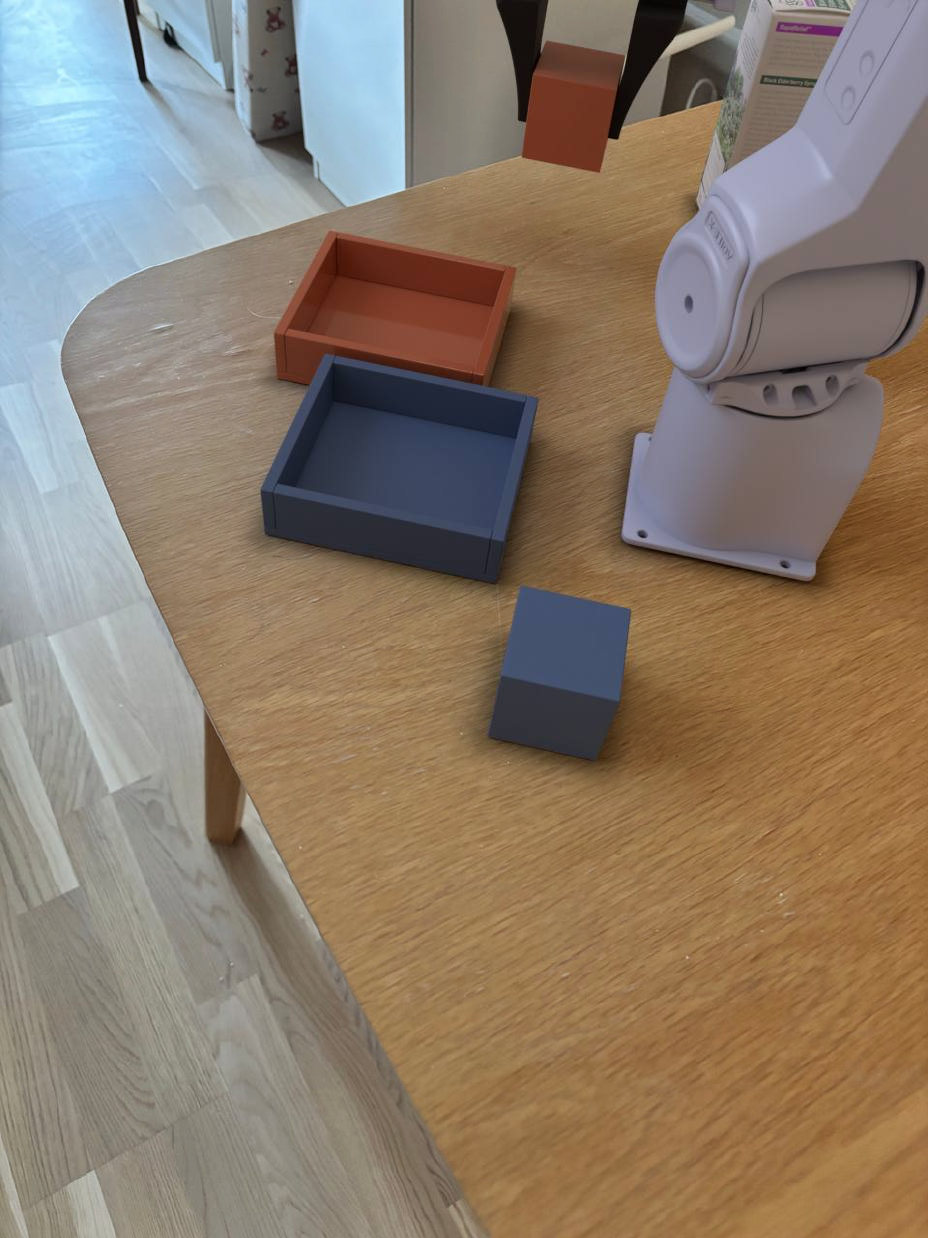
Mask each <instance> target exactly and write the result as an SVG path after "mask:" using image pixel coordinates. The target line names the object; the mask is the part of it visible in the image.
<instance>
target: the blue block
mask: <svg viewBox="0 0 928 1238" xmlns="http://www.w3.org/2000/svg"><path fill="white" fill-rule="evenodd" d="M517 593H518V594H517V597H516V602H515V607H514V612H513V615H512V621H511V624H510V625H511V626H510V630H509V634H508V639H507V643H506V648H505V653H504V657H503V662H502V666H501V672H500V676H499V680H498V685H497V690H496V695H495V699H494V703H493V708H492V713H491V717H490V722H489V726H488V731H487V737H488V738H492V739H496V740H501V741H504V742H509V743H513V744H519V745H522V746H527V747H532V748H536V749H540V750H545V751H549V752H554V753H558V754H563V755H568V756H573V757H576V758H581V759H586V760H590V761H597V760H598V757H599V755H600V753H601V750H602V747H603V746H604V743H605V740H606V738H607V735H608V733H609V730H610V727H611V725H612V723H613V720H614V717H615V715H616V713H617V710H618V708H619V705H620V703H621V700H622V689H623V683H624V675H625V667H626V665H625V664H626V659H627V658H626V657H627V649H628V641H629V634H630V625H631V616H632V609H631V608H629V607H624V606H619V605H615V604H610V603H604V602H600V601H596V600H591V599H586V598H582V597H578V596H573V595H567V594H565V593H560V592H554V591H550V590H545V589H540V588H535V587H531V586H527V585H520V586H519V588H518V592H517Z"/></svg>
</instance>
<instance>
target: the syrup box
mask: <svg viewBox="0 0 928 1238" xmlns="http://www.w3.org/2000/svg"><path fill="white" fill-rule="evenodd" d="M856 2H857V0H750V3H749V6H748V10H747V13H746V17H745V20H744V24H743V27H742V31H741V34H740V38H739V42H738V44H737V49H736V51H735V56H734V59H733V63H732V67H731V70H730V74H729V78H728V81H727V85H726V88H725V92H724V95H723V99H722V102H721V106H720V109H719V113H718V117H717V120H716V123H715V127H714V129H713V134H712V138H711V141H710V145H709V149H708V151H707V152H708V153H707V155H706V159H705V163H704V166H703V170H702V173H701V177H700V180H699V185H698V187H697V191H696V194H695V198H694V200H695V204H696V209H697V212H698V211H699V210H700V208H701V207H702V205H703V203H704V201H705V199H706V197H707V194H708V192H709V190H710V187H711V185H712V183H713V181H714V180H715V179H716V178H717V177H719V176H720V175H721V174H723V173H724V172H726V171H727V170H729V169H730V168H732V167H733V166H735V165H736V164H738V163H739V162H741V161H742V160H744V159H746V158H747V157H749V156H751V155H752V154H754V153H755V152H757V151H759V150H760V149H762V148H763V147H765V146H767V145H768V144H770V143H771V142H773V141H775V140H776V139H778V138H779V137H781V136H782V135H783V134H785V133H786V132H788V131H789V130H790V129H792V128H793V127H794V126H795V124H796V122H797V120H798V118H799V116H800V114H801V112H802V110H803V108H804V106H805V104H806V102H807V100H808V98H809V96H810V94H811V92H812V90H813V88H814V86H815V84H816V82H817V80H818V78H819V76H820V74H821V72H822V70H823V68H824V66H825V64H826V62H827V60H828V58H829V56H830V54H831V52H832V50H833V48H834V46H835V44H836V42H837V40H838V38H839V36H840V34H841V32H842V30H843V28H844V26H845V24H846V22H847V20H848V18H849V16H850V14H851V12H852V10H853V8H854V6H855V4H856Z"/></svg>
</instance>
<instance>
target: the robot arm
mask: <svg viewBox="0 0 928 1238" xmlns="http://www.w3.org/2000/svg"><path fill="white" fill-rule="evenodd" d="M549 1H550V0H495V5H496V8H497V11H498V13H499V17H500V19H501V22H502V25H503V28H504V30H505V35H506V39H507V42H508V46H509V50H510V51H509V52H510V55H511V59H512V65H513V70H514V77H515V84H516V85H515V86H516V96H517V98H516V99H517V121H518V122H521V123H526V121H527V113H528V106H529V99H530V92H531V85H532V78H533V73H534V70H535V68H536V65H537V63H538V60H539V57H540V55H541V52H542V44H543V36H544V31H545V26H546V25H545V24H546V18H547V12H548V6H549ZM688 1H689V0H638V1H637V6H636V9H635V13H634V17H633V23H632V26H631V27H632V28H631V31H630V38H629V43H628V48H627V52H626V56H625V61H624V66H623V71H622V76H621V80H620V85H619V89H618V93H617V97H616V101H615V105H614V109H613V113H612V118H611V123H610V128H609V133H608V140H616V141H618V140H619V139H620V136H621V132H622V128H623V126H624V123H625V121H626V118H627V115H628V113H629V111H630V109H631V107H632V105H633V103H634V100H635V99H636V97H637V95H638V94H639V92H640V90H641V88H642V86H643V85H644V82H645V81H646V79H647V77H648V76H649V74H650V73H651V71H652V70H653V68H654V67H655V65H656V64H657V63H658V61H659V60H660V58H661V57H662V55H663V54H664V52H666V50H667V49H668V47H669V46H670V45H671V44H672V43H673V42H674V39H675V38H676V36H677V35H678V33H679V32H680V30H681V28H682V26H683V24H684V20H685V16H686V11H687V6H688V3H689V2H688ZM692 1H694V2H699V3H706V4H709V5H710V4H711V5H712V8H713V9H714V10H717V11H721V12H726V13H731V14H732V13H734V12H735V9H736V6H737V2H738V0H692ZM654 313H655V322H656V327H657V332H658V336H659V339H660V342H661V344H662V347H663V349H664V351H665V354H666V355H667V357H668V358H669V360H670V361H671V362H672V364H673V365H674V366H673V369H672V373H671V376H670V378H669V382H668V384H667V389H666V391H665V394H664V397H663V401H662V403H661V407H660V410H659V413H658V416H657V419H656V422H655V426H654V428H653V430H652V431H653V432H652V433H649V432H639V433H637V434H636V435H635V436H634V441H633V448H632V455H631V461H630V469H629V470H630V471H629V474H628V475H629V476H628V483H627V491H626V497H625V505H624V512H623V513H624V514H623V519H622V526H621V534H620V537H621V539H622V541H623V542H625V544H629V545H632V546H637V547H641V548H645V549H646V548H647V549H650V550H651V549H652V550H656V551H661V552H665V553H670V554H673V555H680V556H684V557H690V558H693V559H698V560H703V561H708V562H713V563H717V564H721V565H726V566H732V567H736V568H741V569H745V570H750V571H755V572H758V573H759V572H760V573H765V574H770V575H774V576H778V577H782V578H783V577H784V578H788V579H793V580H796V581H797V580H798V581H801V582H810V581H812V580H813V579H814V577H815V575H816V573H817V560H818V559H819V558H820V556H821V554H822V552H823V550H824V549H825V547H826V546H827V544H828V542H829V540H830V539H831V536H832V535H833V533H834V532H835V530H836V528H837V526H838V524H839V523H840V521H841V520H842V518H843V516H844V514H845V512H846V510H847V509H848V507H849V505H850V503H851V502H852V500H853V498H854V496H855V495H856V493H857V491H858V489H859V488H860V486H861V484H862V483H863V481H864V479H865V476H866V474H867V473H868V470H869V468H870V465H871V463H872V460H873V458H874V454H875V452H876V449H877V445H878V443H879V439H880V436H881V431H882V427H883V421H884V412H885V391H884V386H883V384H882V382H881V380H880V379H878V378H877V377H875V376H872V375H869V374H866V373H865V372H866V370H867V368H868V366H869V364H870V362H871V361H872V360H873V361H874V360H882V359H887V358H889V357H892V356H894V355H896V354H898V353H900V352H901V351H903V350H904V349H905V348H906V347H907V346H908V345H909V344H910V343H911V342H912V341H914V338H915V337H916V336H917V335H918V333H919V331H920V330H921V328H922V326H923V324H924V322H925V320H926V317H927V315H928V0H857V2H856V4H855V6H854V8H853V10H852V12H851V14H850V16H849V18H848V20H847V22H846V24H845V26H844V28H843V30H842V32H841V34H840V36H839V38H838V40H837V42H836V44H835V46H834V48H833V50H832V52H831V54H830V56H829V58H828V60H827V62H826V64H825V66H824V68H823V70H822V72H821V74H820V76H819V78H818V80H817V82H816V84H815V86H814V88H813V90H812V92H811V94H810V96H809V98H808V100H807V102H806V104H805V106H804V108H803V110H802V112H801V114H800V116H799V118H798V120H797V122H796V124H795V126H794V127H793V128H792V129H790V130H789V131H788V132H786V133H785V134H783V135H782V136H781V137H779V138H778V139H776V140H775V141H773V142H771V143H770V144H768V145H767V146H765V147H763V148H762V149H760V150H759V151H757V152H755V153H754V154H752V155H751V156H749V157H747V158H746V159H744V160H742V161H741V162H739V163H738V164H736V165H735V166H733V167H732V168H730V169H729V170H727V171H726V172H724V173H723V174H721V175H720V176H719V177H717V178H716V179H715V180H714V181H713V183H712V185H711V187H710V190H709V192H708V194H707V197H706V199H705V201H704V203H703V205H702V207H701V208H700V210H699V211H698V210H697V213H695V215H694V216H693V217H692V218H691V219H690V220H689V221H687V222H686V223H685V224H683V225H682V226H681V227H679V229H678V230H677V232H676V233H675V234H674V236H673V238H672V239H671V241H670V242H669V244H668V247H667V249H666V251H665V252H664V254H663V256H662V259H661V262H660V264H659V268H658V272H657V276H656V281H655V292H654Z"/></svg>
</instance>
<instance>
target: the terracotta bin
mask: <svg viewBox="0 0 928 1238" xmlns="http://www.w3.org/2000/svg"><path fill="white" fill-rule="evenodd" d="M517 269H518V268H517V267H516V266H511V265H506V264H501V263H496V262H492V261H487V260H481V259H476V258H470V257H466V256H460V255H457V254H450V253H446V252H440V251H435V250H430V249H427V248H426V249H425V248H420V247H417V246H416V247H415V246H410V245H404V244H401V243H395V242H391V241H386V240H380V239H375V238H370V237H365V236H360V235H356V234H351V233H344V232H338V231H336V230H335V231H334V230H328V231H327V233H326V235H325V237H324V238H323V241H322V242H321V245H320V246H319V248H318V250H317V251H316V253H315V255H314V257H313V259H312V261H311V263H310V264H309V267H308V268H307V270H306V272H305V274H304V276H303V278H302V279H301V281H300V283H299V285H298V287H297V289H296V290H295V293H294V294H293V296H292V297H291V300H290V301H289V303H288V305H287V307H286V308H285V310H284V312H283V314H282V316H281V318H280V319H279V322H278V323H277V325H276V327H275V329H274V331H273V340H274V341H273V342H274V343H273V344H274V356H275V366H276V370H275V371H276V379H279V380H284V381H289V382H294V383H298V384H302V385H308V386H310V384H311V382H312V380H313V378H314V376H315V373H316V371H317V369H318V367H319V365H320V363H321V361H322V359H323V357H324V355H325V354H330V355H335V356H340V357H344V358H349V359H354V360H359V361H364V362H369V363H374V364H379V365H383V366H388V367H393V368H398V369H403V370H408V371H413V372H418V373H422V374H427V375H432V376H437V377H442V378H447V379H452V380H457V381H461V382H466V383H471V384H476V385H481V386H486V387H489V386H490V382H491V378H492V374H493V371H494V368H495V366H496V365H495V364H496V361H497V357H498V354H499V351H500V347H501V344H502V341H503V337H504V334H505V330H506V327H507V324H508V321H509V317H510V314H511V309H512V302H513V296H514V289H515V283H516V275H517Z"/></svg>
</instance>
